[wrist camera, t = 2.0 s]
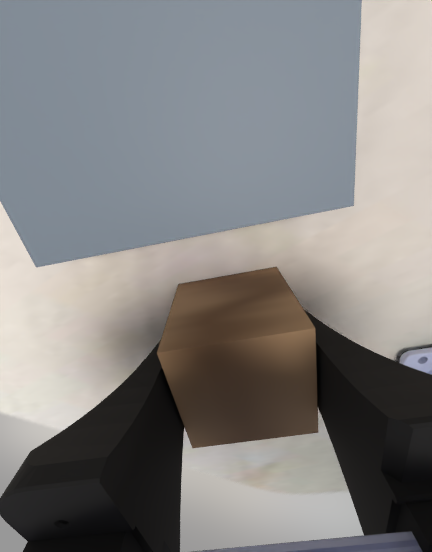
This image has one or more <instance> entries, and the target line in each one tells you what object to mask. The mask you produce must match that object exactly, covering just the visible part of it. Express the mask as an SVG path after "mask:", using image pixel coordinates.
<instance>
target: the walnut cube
mask: <svg viewBox="0 0 432 552" xmlns="http://www.w3.org/2000/svg"><path fill="white" fill-rule="evenodd" d="M157 355H158V358H159V360H160V363H161V366H162V368H163V371H164V374H165V376H166V379H167V382H168V384H169V387H170V390H171V392H172V395H173V397H174V400H175V403H176V405H177V408H178V411H179V413H180V416H181V419H182V421H183V424H184V427H185V429H186V432H187V435H188V437H189V440H190V443H191V445H192V448H198V447H206V446H214V445H222V444H230V443H238V442H246V441H254V440H262V439H270V438H278V437H286V436H294V435H302V434H310V433H318V404H317V369H316V334H315V327H314V325H313V324H312V322H311V321H310V319H309V317H308V316H307V314H306V313H305V311H304V309H303V308H302V306H301V305H300V303H299V302H298V300H297V298H296V297H295V295H294V294H293V292H292V291H291V289H290V287H289V286H288V284H287V283H286V281H285V279H284V278H283V276H282V275H281V273H280V272H279V270H278V268H277V267H273V268H267V269H262V270H256V271H250V272H245V273H239V274H234V275H228V276H222V277H217V278H211V279H205V280H200V281H194V282H189V283H183V284H178V287H177V291H176V294H175V297H174V300H173V303H172V306H171V310H170V313H169V316H168V319H167V322H166V325H165V329H164V332H163V335H162V338H161V341H160V344H159V348H158V351H157Z"/></svg>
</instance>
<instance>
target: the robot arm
mask: <svg viewBox="0 0 432 552" xmlns="http://www.w3.org/2000/svg"><path fill="white" fill-rule="evenodd" d="M304 311H305V310H304ZM305 313H306V314H307V316H308V317H309V319H310V321H311V322H312V324H313V325H314V327H315V334H316V369H317V404H318V408H319V411H320V413H321V415H322V418H323V420H324V423H325V426H326V428H327V431H328V434H329V436H330V439H331V442H332V444H333V447H334V450H335V453H336V455H337V458H338V461H339V464H340V466H341V469H342V472H343V475H344V478H345V481H346V483H347V486H348V489H349V492H350V495H351V498H352V501H353V504H354V507H355V509H356V512H357V515H358V518H359V521H360V524H361V527H362V530H363V533H364V536H354V537H344V538H333V539H322V540H311V541H301V542H290V543H279V544H268V545H257V546H247V547H236V548H225V549H215V550H205V551H193V552H432V347H431V348H424V349H417V350H411V351H407V352H405V353H403V354H402V355H401V358H400V362H399V363H398V362H396V361H393V360H391V359H388V358H386V357H384V356H381V355H379V354H377V353H375V352H373V351H371V350H369V349H367V348H365V347H362V346H360V345H358V344H357V343H355V342H353V341H351V340H349V339H348V338H346V337H344V336H342V335H341V334H339V333H337V332H336V331H334V330H333V329H331V328H329V327H328V326H326V325H325V324H323V323H322V322H321V321H319V320H318V319H316V318H315V317H314V316H312V315H311V314H309V313H308V312H307V311H305ZM160 341H161V340H160ZM159 344H160V342H159V343H158V344H157V345H156V347H155V348H154V349H153V350H152V352H151V353H150V354H149V355H148V356H147V358H146V359H145V360H144V361H143V362H142V363H141V364H140V366H139V367H138V368H137V369H136V370H135V371H134V372H133V373H132V374H131V375H130V376H129V377H128V378H127V379H126V380H125V381H124V382H123V383H122V384H121V385H120V386H119V387H118V388H117V389H116V390H115V391H114V392H112V393H111V394H110V395H109V396H108V397H107V398H105V399H104V400H103V401H102V402H101V403H99V404H98V405H97V406H96V407H95V408H93V409H92V410H91V411H89V412H88V413H87V414H86V415H84V416H83V417H82V418H80V419H79V420H77V421H76V422H75V423H73V424H72V425H70V426H69V427H68V428H66V429H65V430H63V431H62V432H60V433H59V434H57V435H56V436H54V437H53V438H51V439H49V440H48V441H46V442H45V443H43V444H42V445H40V446H39V447H37V448H35V449H34V450H32V451H31V452H30V453H29V455H28V456H27V458H26V459H25V461H24V462H23V464H22V466H21V467H20V469H19V470H18V472H17V473H16V475H15V476H14V478H13V479H12V481H11V482H10V484H9V485H8V487H7V488H6V490H5V492H4V493H3V495H2V496H1V498H0V515H1V517H2V518H3V519H4V520H5V521H6V522H7V523H8V524H9V525H10V526H11V527H13V529H15V530H16V531H17V532H18V533H19V534H20V535H21V536H22V537H24V538H25V539H26V540H27V541H28V543H27V544H26V547H25V548H24V550H23V552H180V502H181V472H182V451H183V434H184V424H183V421H182V419H181V416H180V413H179V411H178V408H177V405H176V403H175V400H174V397H173V395H172V392H171V390H170V387H169V384H168V382H167V379H166V376H165V374H164V371H163V368H162V366H161V363H160V360H159V358H158V355H157V351H158V348H159Z"/></svg>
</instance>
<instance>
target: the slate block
mask: <svg viewBox="0 0 432 552" xmlns="http://www.w3.org/2000/svg"><path fill="white" fill-rule="evenodd" d="M361 3H362V0H0V201H1V203H2V205H3V207H4V209H5V210H6V212H7V214H8V216H9V218H10V220H11V222H12V223H13V225H14V227H15V229H16V231H17V233H18V235H19V236H20V238H21V240H22V242H23V244H24V246H25V248H26V249H27V251H28V253H29V255H30V257H31V259H32V260H33V262H34V264H35V266H36V267H41V266H46V265H51V264H56V263H61V262H67V261H72V260H77V259H82V258H87V257H92V256H97V255H103V254H108V253H113V252H118V251H123V250H128V249H134V248H139V247H144V246H149V245H154V244H159V243H165V242H170V241H175V240H180V239H185V238H190V237H195V236H201V235H206V234H211V233H216V232H221V231H226V230H232V229H237V228H242V227H247V226H252V225H257V224H263V223H268V222H273V221H278V220H283V219H288V218H293V217H299V216H304V215H309V214H314V213H319V212H324V211H330V210H335V209H340V208H345V207H350V206H354V185H355V159H356V133H357V107H358V81H359V55H360V29H361Z"/></svg>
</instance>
